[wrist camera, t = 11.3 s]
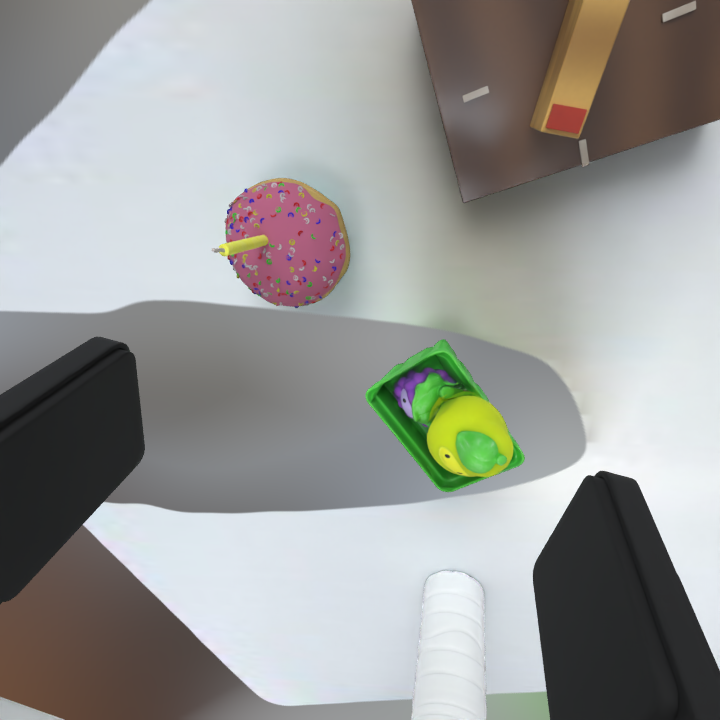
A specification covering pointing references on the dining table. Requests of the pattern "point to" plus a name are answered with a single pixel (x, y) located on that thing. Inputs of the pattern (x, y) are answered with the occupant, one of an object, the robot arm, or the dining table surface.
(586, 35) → the tap handle
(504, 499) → the dining table surface
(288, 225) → the cupcake
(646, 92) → the plate
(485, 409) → the fruit basket
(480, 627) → the water bottle
